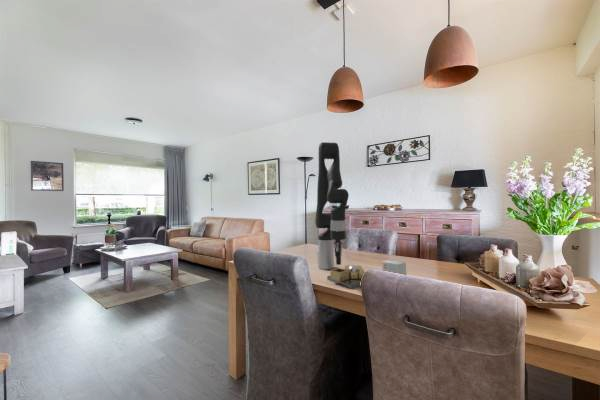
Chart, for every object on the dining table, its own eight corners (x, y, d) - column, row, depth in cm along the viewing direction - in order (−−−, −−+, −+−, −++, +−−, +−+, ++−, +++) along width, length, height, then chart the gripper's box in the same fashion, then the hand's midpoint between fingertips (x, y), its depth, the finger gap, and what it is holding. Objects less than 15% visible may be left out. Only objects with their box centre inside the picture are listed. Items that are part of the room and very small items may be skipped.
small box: (407, 291, 115) (406, 261, 115) (399, 295, 111) (398, 264, 111) (390, 287, 121) (389, 259, 121) (382, 290, 117) (382, 261, 117)
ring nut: (353, 271, 141) (352, 263, 141) (368, 276, 133) (368, 267, 133) (327, 278, 131) (327, 269, 131) (342, 283, 122) (342, 273, 122)
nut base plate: (327, 279, 135) (327, 266, 135) (351, 273, 144) (351, 262, 144) (351, 288, 120) (350, 274, 120) (376, 282, 129) (376, 269, 129)
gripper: (332, 227, 136) (332, 260, 136) (328, 231, 123) (329, 267, 124) (346, 227, 134) (347, 261, 135) (344, 231, 122) (345, 268, 122)
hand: (338, 264), depth 129 cm, fingers closed
